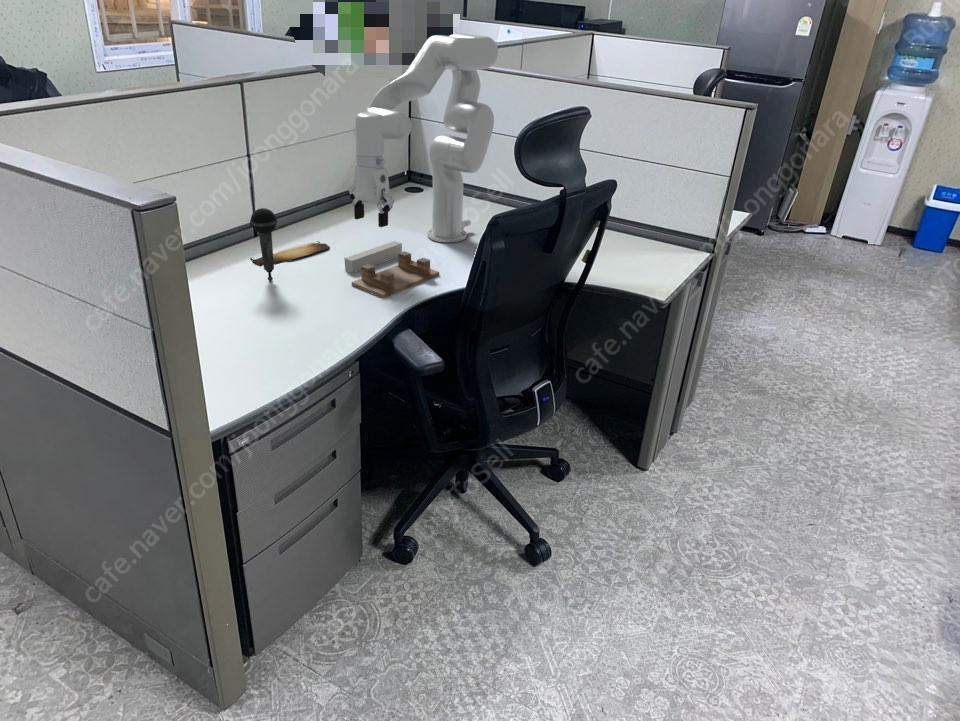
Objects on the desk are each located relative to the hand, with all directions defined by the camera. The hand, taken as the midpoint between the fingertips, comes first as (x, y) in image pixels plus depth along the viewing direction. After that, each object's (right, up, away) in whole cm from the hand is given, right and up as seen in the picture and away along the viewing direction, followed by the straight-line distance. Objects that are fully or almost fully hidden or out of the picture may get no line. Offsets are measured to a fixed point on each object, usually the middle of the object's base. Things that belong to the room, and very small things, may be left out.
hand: (371, 222), depth 203 cm
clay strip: (0, -11, +7) cm, 13 cm away
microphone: (-26, -18, -8) cm, 33 cm away
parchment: (-25, -8, +10) cm, 28 cm away
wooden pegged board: (+8, -17, -5) cm, 19 cm away
